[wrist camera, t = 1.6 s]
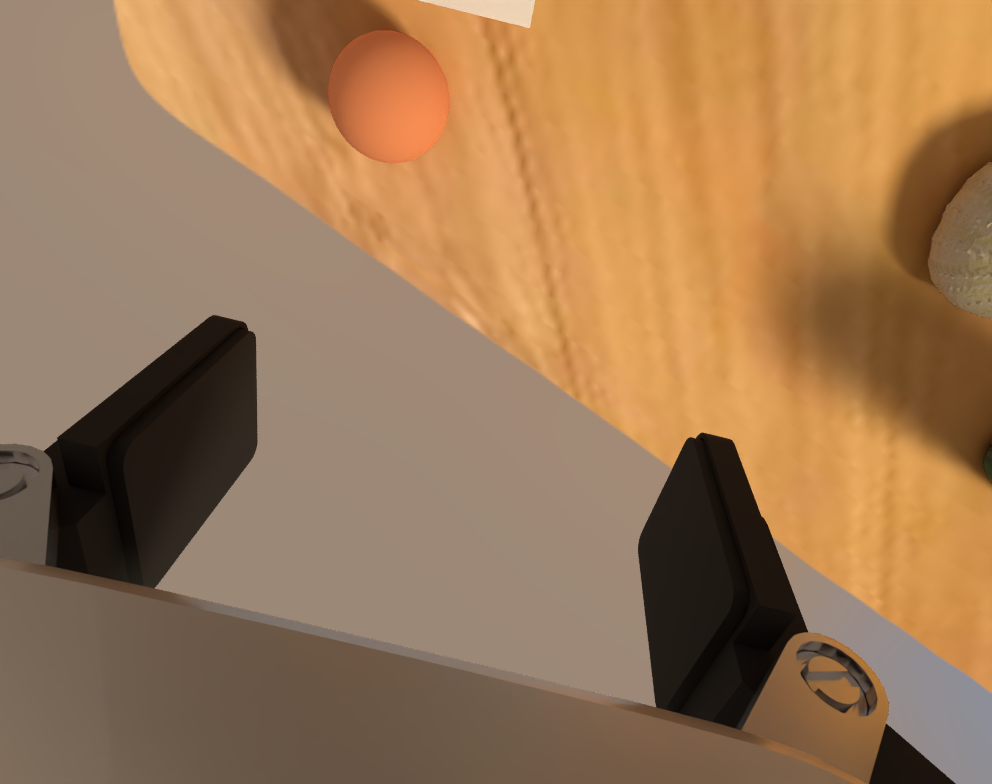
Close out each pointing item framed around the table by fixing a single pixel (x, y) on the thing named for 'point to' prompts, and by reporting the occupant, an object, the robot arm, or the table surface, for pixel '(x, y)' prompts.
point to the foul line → (494, 9)
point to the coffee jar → (988, 463)
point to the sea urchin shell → (966, 247)
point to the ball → (388, 96)
